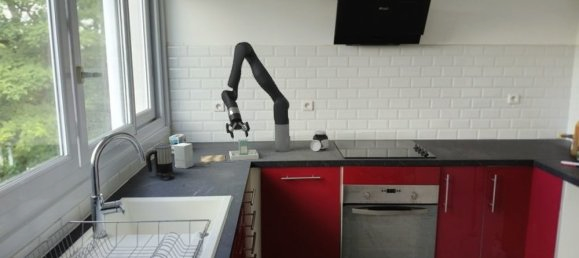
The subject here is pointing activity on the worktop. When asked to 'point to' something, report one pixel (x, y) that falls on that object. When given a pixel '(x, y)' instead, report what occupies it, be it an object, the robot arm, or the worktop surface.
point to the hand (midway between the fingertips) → (240, 137)
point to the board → (212, 158)
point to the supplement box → (183, 155)
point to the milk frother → (161, 160)
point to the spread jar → (320, 141)
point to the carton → (243, 147)
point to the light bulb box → (177, 140)
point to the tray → (235, 155)
